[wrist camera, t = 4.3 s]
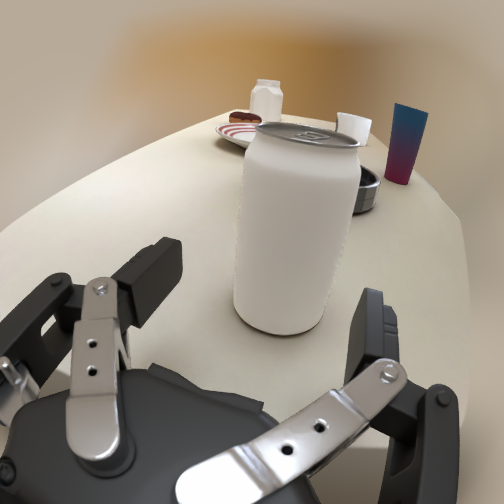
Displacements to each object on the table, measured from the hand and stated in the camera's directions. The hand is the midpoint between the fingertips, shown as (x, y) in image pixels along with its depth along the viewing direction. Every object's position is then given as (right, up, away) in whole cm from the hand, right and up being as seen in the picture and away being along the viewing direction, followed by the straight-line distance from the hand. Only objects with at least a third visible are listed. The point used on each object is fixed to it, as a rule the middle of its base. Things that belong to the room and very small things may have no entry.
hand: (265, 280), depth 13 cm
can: (+1, -3, +9) cm, 9 cm away
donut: (-3, +39, +74) cm, 84 cm away
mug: (+29, +35, +73) cm, 86 cm away
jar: (+4, +49, +91) cm, 103 cm away
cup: (+28, +15, +42) cm, 53 cm away
